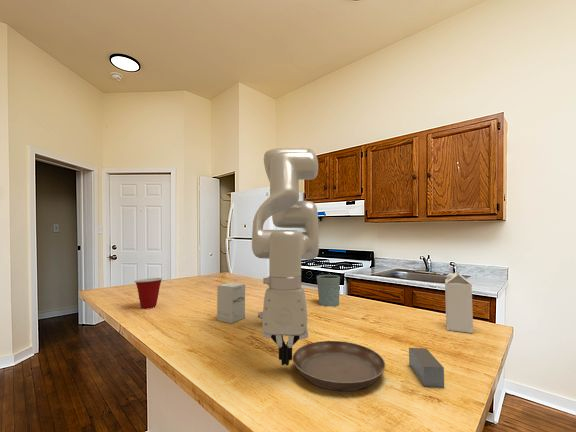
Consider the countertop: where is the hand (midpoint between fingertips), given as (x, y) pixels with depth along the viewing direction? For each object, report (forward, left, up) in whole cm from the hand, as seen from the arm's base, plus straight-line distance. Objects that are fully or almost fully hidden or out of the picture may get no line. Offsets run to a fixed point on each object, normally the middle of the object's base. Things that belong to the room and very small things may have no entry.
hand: (285, 362), depth 69 cm
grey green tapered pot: (+12, +62, -2) cm, 63 cm away
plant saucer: (+12, 0, -2) cm, 12 cm away
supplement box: (-24, +37, -2) cm, 44 cm away
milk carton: (+53, +33, -2) cm, 63 cm away
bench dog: (+31, 0, -2) cm, 31 cm away
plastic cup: (-64, +51, -2) cm, 82 cm away
